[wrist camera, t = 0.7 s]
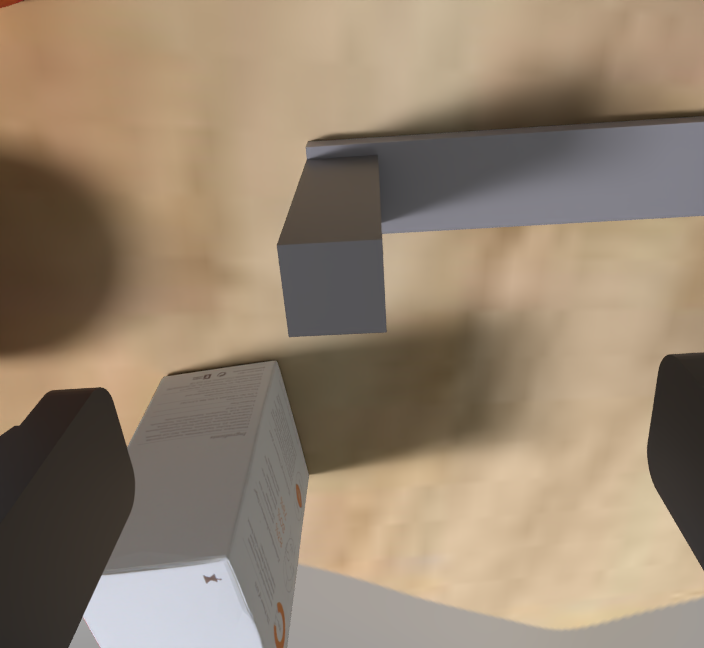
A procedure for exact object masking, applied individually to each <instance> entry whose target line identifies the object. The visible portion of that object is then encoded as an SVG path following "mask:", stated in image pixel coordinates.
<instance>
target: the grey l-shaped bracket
mask: <svg viewBox="0 0 704 648" xmlns="http://www.w3.org/2000/svg"><path fill="white" fill-rule="evenodd" d="M306 154H307V161H306V164H305V166H304V169H303V172H302V175H301V178H300V181H299V183H298V186H297V189H296V192H295V195H294V198H293V201H292V203H291V206H290V209H289V212H288V215H287V218H286V221H285V223H284V226H283V229H282V232H281V235H280V238H279V241H278V243H277V250H278V258H279V266H280V273H281V281H282V289H283V296H284V304H285V312H286V319H287V327H288V334H289V337H299V336H320V335H341V334H361V333H382V332H387V330H386V309H385V288H384V267H383V245H382V234H387V233H405V232H423V231H441V230H459V229H476V228H494V227H512V226H530V225H547V224H565V223H583V222H601V221H618V220H636V219H654V218H672V217H689V216H704V116H696V117H681V118H665V119H650V120H634V121H619V122H603V123H588V124H572V125H557V126H541V127H526V128H510V129H495V130H479V131H464V132H448V133H432V134H417V135H401V136H386V137H370V138H355V139H339V140H324V141H308V143H307V145H306Z"/></svg>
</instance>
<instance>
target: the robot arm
mask: <svg viewBox="0 0 704 648" xmlns="http://www.w3.org/2000/svg"><path fill="white" fill-rule="evenodd" d="M647 458H648V465H649V471H650V475H651V478H652V481H653V484H654V486H655V488H656V490H657V492H658V493H659V495H660V497H661V499H662V500H663V502H664V504H665V505H666V507H667V509H668V510H669V512H670V514H671V516H672V517H673V519H674V521H675V522H676V524H677V526H678V527H679V529H680V531H681V533H682V534H683V536H684V538H685V539H686V541H687V543H688V544H689V546H690V548H691V550H692V551H693V553H694V555H695V556H696V558H697V560H698V562H699V563H700V565H701V567H702V568H703V570H704V352H703V353H687V354H670V355H667V356H665V357H664V358H663V360H662V361H661V364H660V367H659V371H658V377H657V384H656V391H655V397H654V404H653V411H652V417H651V424H650V431H649V437H648V445H647ZM134 497H135V476H134V470H133V466H132V463H131V460H130V456H129V453H128V450H127V446H126V443H125V439H124V436H123V433H122V429H121V426H120V423H119V419H118V416H117V412H116V409H115V406H114V402H113V400H112V397H111V395H110V394H109V392H108V391H107V390H106V389H104V388H101V387H98V388H82V389H65V390H52V391H49V392H48V393H46V394H45V395H44V397H43V398H42V399H41V400H40V401H39V403H38V404H37V405H36V406H35V408H34V409H33V410H32V411H31V412H30V414H29V415H28V416H27V417H26V419H25V420H24V421H23V422H22V423H21V425H20V426H14V427H12V428H11V429H10V430H8V431H7V432H5V433H4V434H2V435H1V436H0V648H68V647H69V645H70V643H71V640H72V639H73V636H74V634H75V632H76V630H77V628H78V626H79V623H80V621H81V619H82V617H83V615H84V613H85V610H86V608H87V606H88V604H89V602H90V600H91V597H92V595H93V593H94V591H95V589H96V587H97V585H98V582H99V580H100V578H101V576H102V574H103V572H104V569H105V567H106V565H107V563H108V561H109V559H110V556H111V554H112V552H113V550H114V548H115V546H116V543H117V541H118V539H119V537H120V535H121V533H122V530H123V528H124V526H125V524H126V522H127V520H128V517H129V515H130V513H131V510H132V507H133V503H134Z"/></svg>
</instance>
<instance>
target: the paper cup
mask: <svg viewBox="0 0 704 648" xmlns="http://www.w3.org/2000/svg"><path fill="white" fill-rule="evenodd" d="M20 1H23V0H0V8H2V7H6V6H9V5H12V4H15V3H18V2H20Z"/></svg>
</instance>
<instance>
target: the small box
mask: <svg viewBox="0 0 704 648" xmlns="http://www.w3.org/2000/svg"><path fill="white" fill-rule="evenodd" d="M127 450H128V453H129V456H130V460H131V463H132V466H133V470H134V476H135V497H134V503H133V507H132V510H131V513H130V515H129V517H128V520H127V522H126V524H125V526H124V528H123V530H122V533H121V535H120V537H119V539H118V541H117V543H116V546H115V548H114V550H113V552H112V554H111V556H110V559H109V561H108V563H107V565H106V567H105V569H104V572H103V574H102V576H101V578H100V580H99V582H98V585H97V587H96V589H95V591H94V593H93V595H92V597H91V600H90V602H89V604H88V606H87V608H86V610H85V613H84V615H83V619H84V620H85V622H86V624H87V626H88V627H89V629H90V631H91V633H92V634H93V636H94V638H95V639H96V642H97V643H98V645H99V647H100V648H287V644H288V635H289V627H290V620H291V611H292V604H293V595H294V588H295V580H296V573H297V566H298V558H299V549H300V541H301V532H302V524H303V517H304V509H305V502H306V494H307V487H308V480H309V474H308V470H307V466H306V462H305V459H304V455H303V451H302V447H301V444H300V440H299V436H298V433H297V429H296V425H295V422H294V418H293V415H292V411H291V407H290V404H289V400H288V397H287V393H286V389H285V386H284V382H283V379H282V376H281V372H280V369H279V365H278V363H277V361H268V362H260V363H253V364H246V365H240V366H233V367H226V368H219V369H212V370H206V371H198V372H192V373H186V374H179V375H172V376H166V377H163V378H162V379H161V381H160V383H159V385H158V387H157V389H156V391H155V393H154V395H153V397H152V399H151V401H150V403H149V405H148V407H147V409H146V411H145V413H144V415H143V417H142V419H141V421H140V423H139V425H138V427H137V429H136V431H135V433H134V435H133V437H132V439H131V441H130V443H129V445H128V447H127Z"/></svg>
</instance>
